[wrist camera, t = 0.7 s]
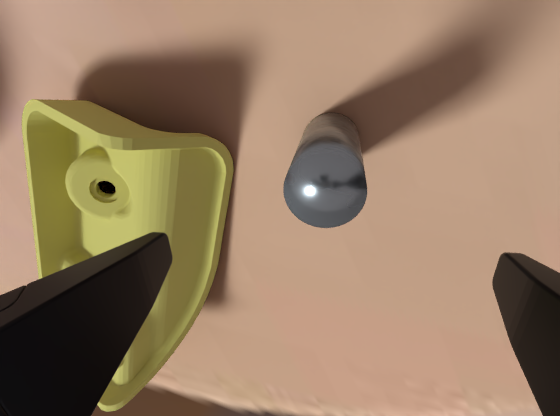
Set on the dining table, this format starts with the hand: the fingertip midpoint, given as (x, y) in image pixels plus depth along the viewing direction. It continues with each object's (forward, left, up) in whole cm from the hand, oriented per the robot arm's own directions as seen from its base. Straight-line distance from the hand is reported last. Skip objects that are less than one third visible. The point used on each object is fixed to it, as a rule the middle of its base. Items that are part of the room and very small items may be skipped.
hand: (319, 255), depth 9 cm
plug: (0, 0, -11) cm, 11 cm away
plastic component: (+14, +7, -12) cm, 20 cm away
